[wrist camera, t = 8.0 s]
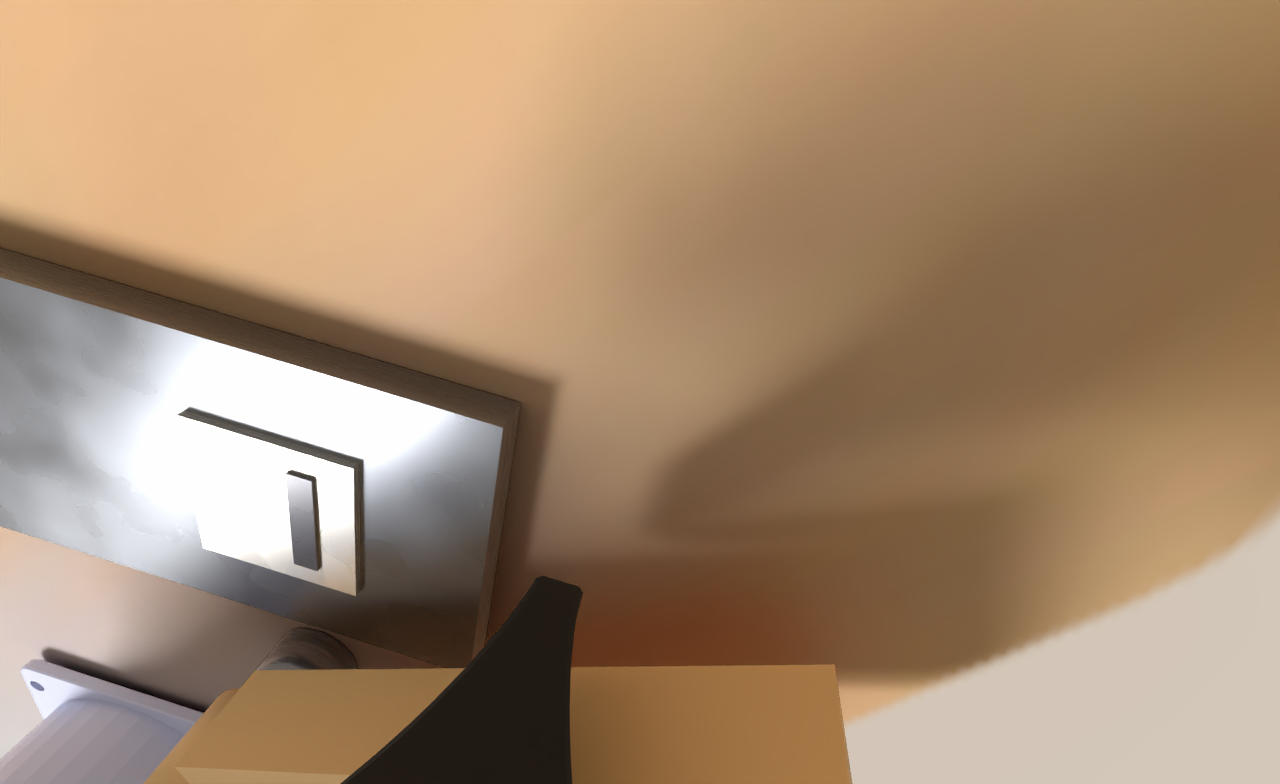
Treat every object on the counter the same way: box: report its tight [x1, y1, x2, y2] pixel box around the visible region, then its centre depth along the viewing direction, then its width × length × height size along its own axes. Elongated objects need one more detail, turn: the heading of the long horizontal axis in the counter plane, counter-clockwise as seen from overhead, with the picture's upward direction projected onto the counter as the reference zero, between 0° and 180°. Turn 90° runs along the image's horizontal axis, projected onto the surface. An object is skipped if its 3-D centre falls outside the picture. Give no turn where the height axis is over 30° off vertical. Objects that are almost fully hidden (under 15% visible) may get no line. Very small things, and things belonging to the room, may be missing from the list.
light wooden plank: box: [143, 665, 852, 784], centre depth 13 cm, size 16×4×2 cm, turn 104°
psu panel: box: [0, 248, 521, 668], centre depth 14 cm, size 8×20×1 cm, turn 77°
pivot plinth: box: [256, 628, 357, 670], centre depth 17 cm, size 2×2×2 cm
